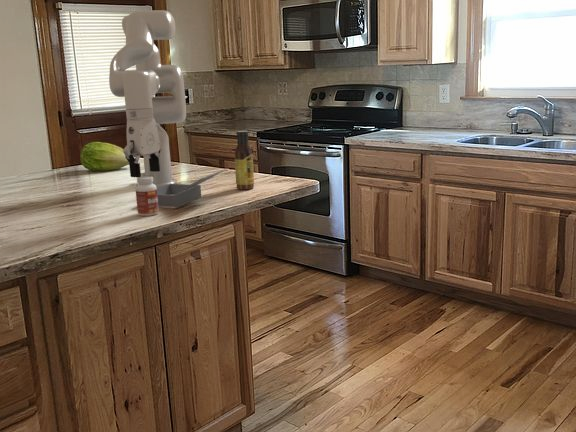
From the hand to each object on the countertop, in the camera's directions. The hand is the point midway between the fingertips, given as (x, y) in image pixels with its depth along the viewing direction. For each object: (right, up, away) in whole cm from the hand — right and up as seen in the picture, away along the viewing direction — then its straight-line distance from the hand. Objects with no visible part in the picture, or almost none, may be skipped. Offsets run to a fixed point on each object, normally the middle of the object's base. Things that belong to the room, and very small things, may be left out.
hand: (145, 174), depth 181 cm
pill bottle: (0, -12, +4) cm, 12 cm away
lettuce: (-34, +7, +82) cm, 89 cm away
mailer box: (+4, -8, +19) cm, 21 cm away
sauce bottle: (+27, -3, +34) cm, 43 cm away
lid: (+14, -1, +13) cm, 19 cm away
